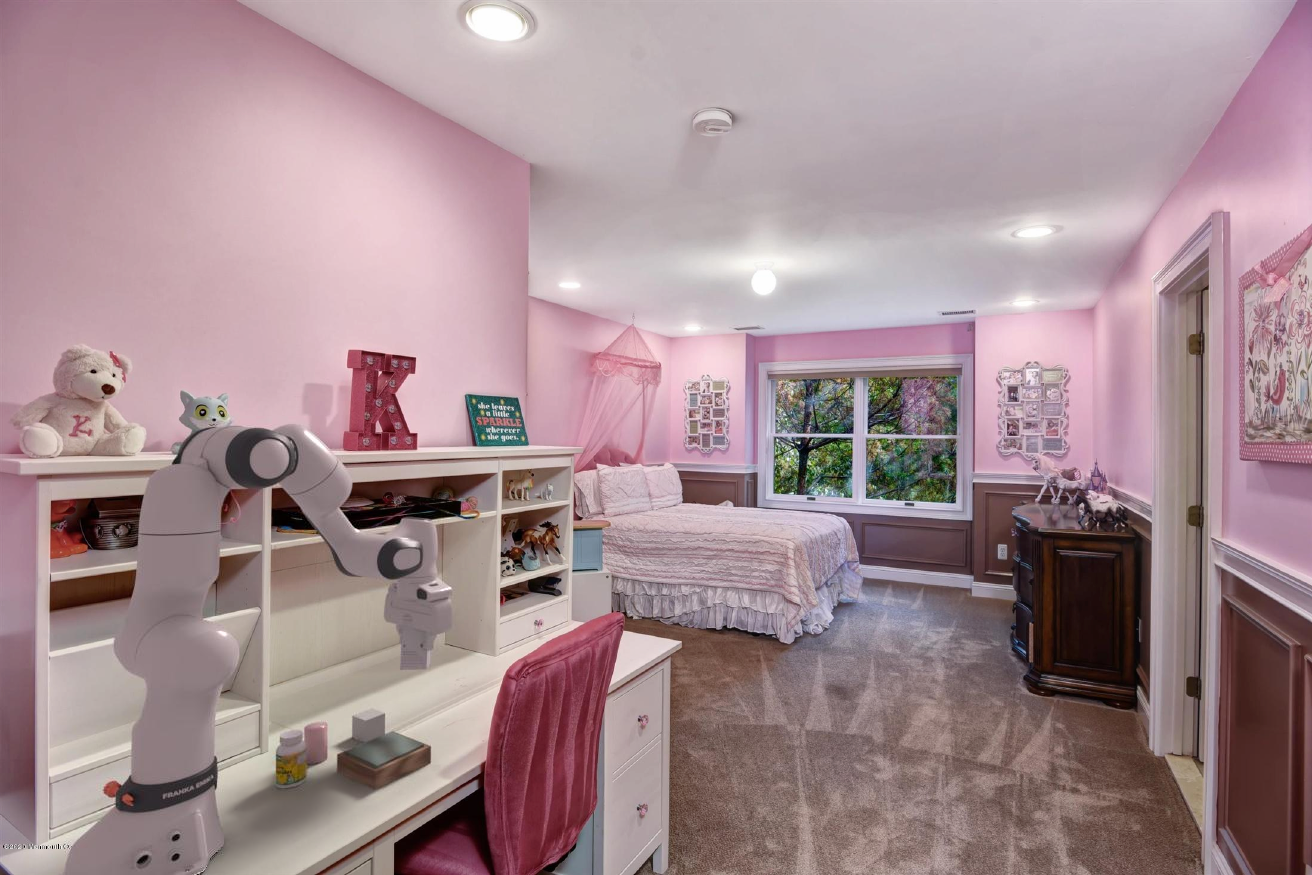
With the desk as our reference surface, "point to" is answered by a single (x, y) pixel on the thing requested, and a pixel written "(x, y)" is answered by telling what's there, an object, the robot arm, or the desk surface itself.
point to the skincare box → (413, 647)
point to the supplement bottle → (291, 760)
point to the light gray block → (368, 725)
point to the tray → (383, 759)
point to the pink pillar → (316, 742)
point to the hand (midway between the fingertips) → (416, 646)
